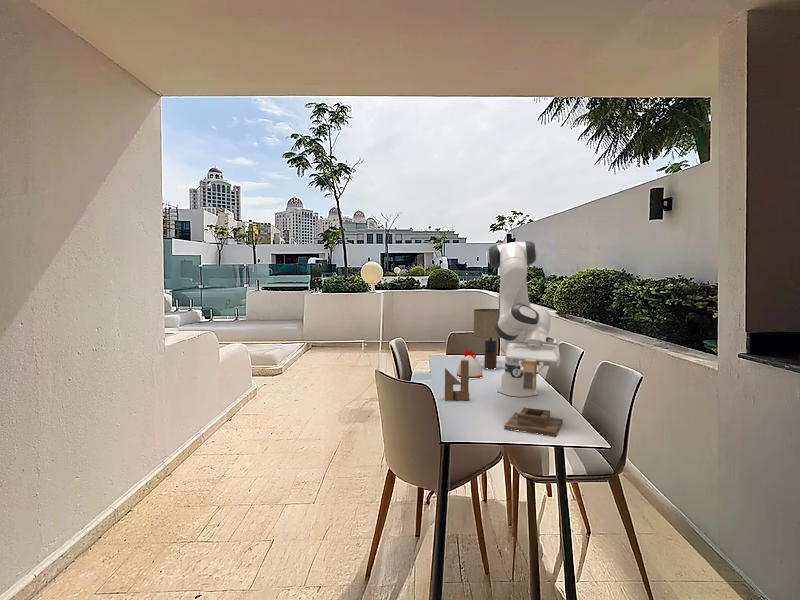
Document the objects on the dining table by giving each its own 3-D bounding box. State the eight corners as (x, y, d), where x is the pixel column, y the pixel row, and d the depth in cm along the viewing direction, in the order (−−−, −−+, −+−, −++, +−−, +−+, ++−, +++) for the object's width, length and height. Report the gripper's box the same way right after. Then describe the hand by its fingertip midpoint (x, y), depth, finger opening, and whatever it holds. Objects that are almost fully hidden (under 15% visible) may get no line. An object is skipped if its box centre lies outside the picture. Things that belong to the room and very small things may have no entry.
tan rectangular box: (525, 387, 186) (526, 358, 185) (536, 388, 184) (536, 359, 183) (522, 390, 181) (523, 361, 180) (533, 391, 179) (534, 362, 179)
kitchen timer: (466, 372, 279) (467, 346, 278) (487, 376, 269) (487, 349, 268) (451, 376, 269) (452, 349, 268) (472, 380, 259) (472, 352, 258)
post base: (515, 416, 195) (515, 404, 195) (562, 422, 187) (562, 409, 187) (504, 429, 179) (504, 416, 179) (555, 436, 171) (555, 422, 171)
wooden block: (444, 398, 222) (444, 359, 221) (468, 398, 222) (468, 359, 221) (445, 400, 219) (445, 360, 218) (469, 400, 219) (469, 360, 218)
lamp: (483, 364, 304) (484, 308, 302) (513, 368, 292) (514, 309, 290) (466, 369, 289) (467, 310, 287) (497, 373, 276) (498, 312, 274)
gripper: (507, 336, 192) (500, 365, 184) (561, 339, 183) (557, 370, 175) (509, 346, 197) (503, 374, 188) (562, 349, 188) (558, 380, 179)
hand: (529, 372), depth 182 cm, fingers closed on tan rectangular box, 4 cm apart
